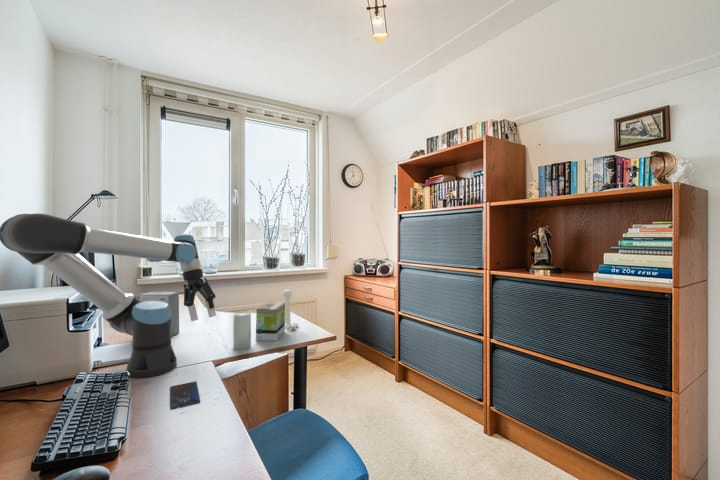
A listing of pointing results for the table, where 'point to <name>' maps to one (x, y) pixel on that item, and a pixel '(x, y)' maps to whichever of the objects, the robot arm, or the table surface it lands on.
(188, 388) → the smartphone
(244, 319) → the canister
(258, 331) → the tea box
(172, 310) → the hard drive box
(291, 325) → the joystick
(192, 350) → the table surface
